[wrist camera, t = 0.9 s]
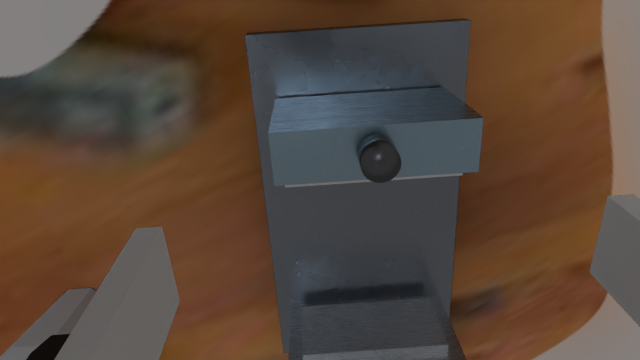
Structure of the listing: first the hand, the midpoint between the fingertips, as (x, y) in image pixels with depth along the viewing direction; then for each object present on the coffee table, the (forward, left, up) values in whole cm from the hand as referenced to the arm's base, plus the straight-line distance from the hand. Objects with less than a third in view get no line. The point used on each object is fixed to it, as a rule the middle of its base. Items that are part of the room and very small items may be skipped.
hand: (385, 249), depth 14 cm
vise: (+9, +1, -19) cm, 21 cm away
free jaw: (+1, +1, -18) cm, 18 cm away
